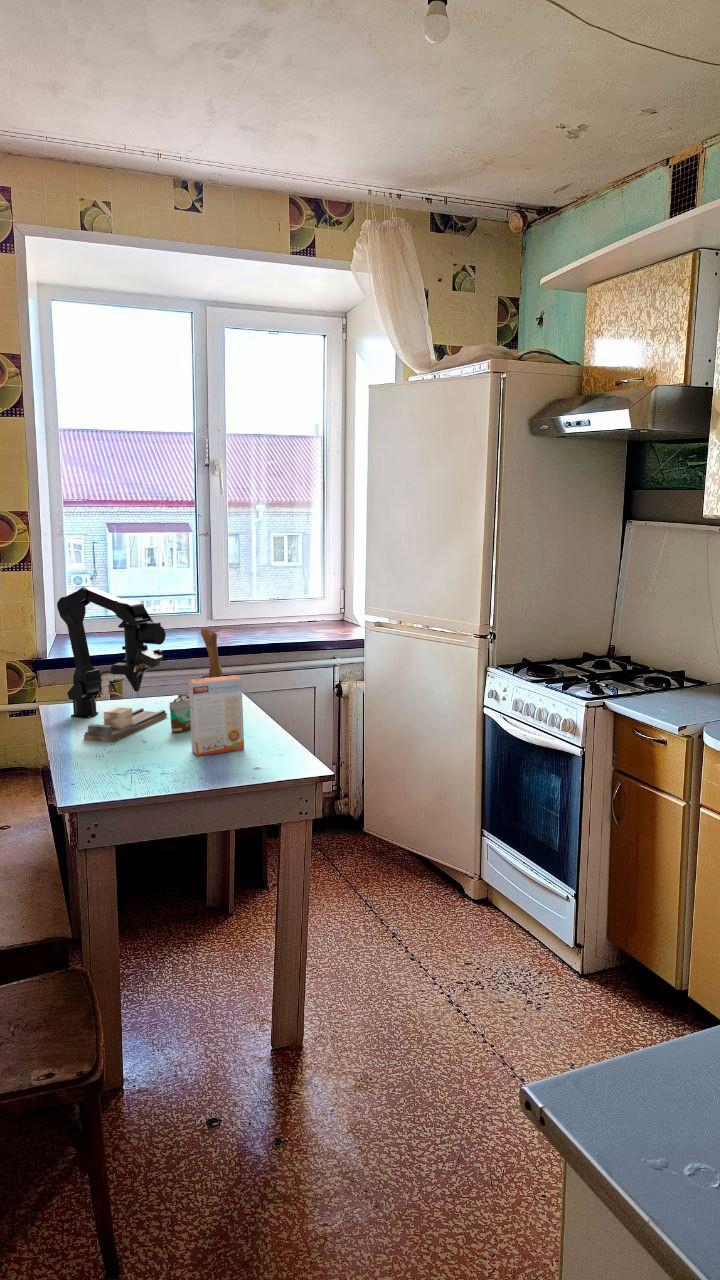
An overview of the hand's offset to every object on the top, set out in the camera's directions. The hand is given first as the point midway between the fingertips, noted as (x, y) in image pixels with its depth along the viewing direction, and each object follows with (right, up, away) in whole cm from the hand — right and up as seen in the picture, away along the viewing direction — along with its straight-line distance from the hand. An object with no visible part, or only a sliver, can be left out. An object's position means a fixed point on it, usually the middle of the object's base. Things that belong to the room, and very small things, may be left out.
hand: (136, 691), depth 271 cm
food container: (+16, -12, -6) cm, 21 cm away
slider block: (-3, -10, -8) cm, 14 cm away
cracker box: (+30, -15, -28) cm, 44 cm away
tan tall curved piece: (+22, -8, +16) cm, 29 cm away
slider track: (-2, -11, -4) cm, 12 cm away
